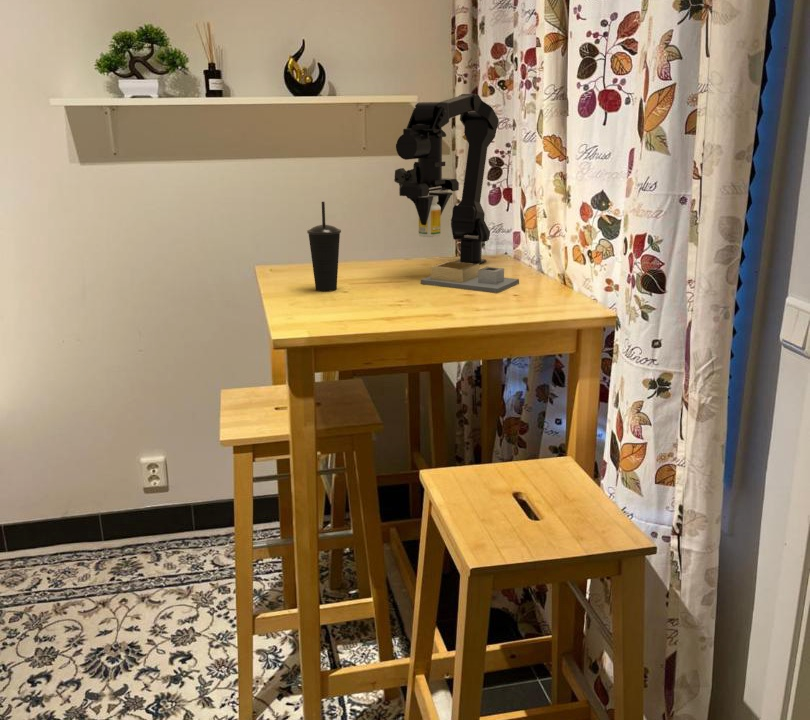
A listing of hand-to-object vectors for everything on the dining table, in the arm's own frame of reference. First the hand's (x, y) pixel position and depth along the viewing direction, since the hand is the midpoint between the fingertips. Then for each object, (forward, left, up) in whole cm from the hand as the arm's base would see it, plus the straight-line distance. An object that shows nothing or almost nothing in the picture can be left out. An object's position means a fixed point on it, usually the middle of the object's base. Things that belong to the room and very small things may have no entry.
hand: (429, 223), depth 192 cm
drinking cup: (+25, -13, -13) cm, 31 cm away
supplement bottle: (0, 0, -3) cm, 3 cm away
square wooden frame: (+3, +9, -13) cm, 16 cm away
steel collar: (+3, +18, -13) cm, 23 cm away
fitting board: (+3, +13, -13) cm, 19 cm away
